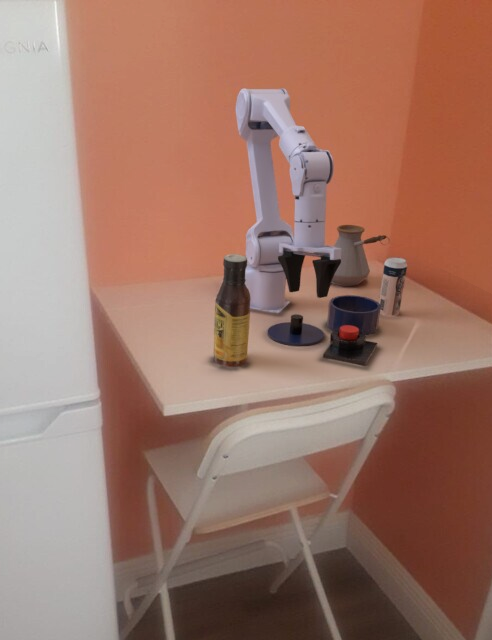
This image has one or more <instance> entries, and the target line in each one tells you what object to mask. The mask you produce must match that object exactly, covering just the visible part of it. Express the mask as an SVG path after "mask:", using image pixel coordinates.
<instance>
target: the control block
mask: <svg viewBox="0 0 492 640" xmlns="http://www.w3.org/2000/svg"><path fill="white" fill-rule="evenodd" d="M339 332H340V329H338V330H334V331H332V332H331V333H330V337H329V343H330V345H329V346H328V347H327V349H326V350H325V351H324V353H323V354H322V358H323V359H327V360H334V361H339V362H343V363H348V364H354V365H358V366H363V367H365V366H367V364H368V362H369V361H370V359H371V357H372V355H373V354H374V352H375V351H376V349H377V348H378V344H379V343H378V342H374V341H369V340H367V335H365V334H364V333H362V332H360V331H359V333H358V339H352V340H349V339H343V338H341V337H339Z"/></svg>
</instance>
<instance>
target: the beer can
mask: <svg viewBox="0 0 492 640" xmlns="http://www.w3.org/2000/svg"><path fill="white" fill-rule="evenodd" d="M407 269H408V264H407V260H406V259H404V258H403V257H399V256H398V257H397V256H390V257H387V259H386V260H385V261H384V265H383V271H382V278H381V284H380V291H379V298H378V303H379V304H380V306H381V310H380V315H383V316H387V317H394V316H398V315H400V310H401V304H402V299H403V294H404V293H403V292H404V288H405V281H406V276H407V275H406V274H407Z"/></svg>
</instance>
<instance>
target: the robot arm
mask: <svg viewBox="0 0 492 640" xmlns="http://www.w3.org/2000/svg"><path fill="white" fill-rule="evenodd" d="M235 102H236V103H235V116H236V117H235V118H236V125H237V130H238V135H239V137H240V138H242V139H243V140H244V141H245V142H246V150H247V157H248V158H247V159H248V165H249V166H248V167H249V172H250V179H251V180H250V181H251V187H252V195H253V202H254V210H255V219H256V222H255V223H254V224H253V225H252V226H251V227H250V228H249V229H248V230H247V232H246V234H245V257H246V258H247V267H246V271H245V279H246V281H245V285H246V287H247V289H248V290H249V293H250V297H251V298H250V309H252V310H253V309H254V310H259V311H264V312H271V313H277V314H280V313H281V312H282V311H283V310H284V309H285V308H286V307H287V306H288V305H289V304H290V303H291V301H289V300H285V296H286V284H287V288H288V291H289V293H295V292H299V291H300V288H301V277H302V270H303V269H302V268H303V264H304V261H305V258H306V257H313V258H319V259H312V260H311V261H312V266H313V268H314V273H315V281H316V285H315V287H316V289H315V291H316V297H317V298H318V299H322V298H326V297H327V298H328V294H329V291H330V288H331V284H332V283H331V282H332V279H333V276H334V274H335V272H336V270H337V269H338V267H339V265H340V264H341V248H336V247H333V246H332V245H327V244H325V242H326V218H327V217H326V214H327V213H326V212H327V188H328V187H327V186H328V184H329V183H330V182H331V180H332V179H333V175H334V159H333V156H332V155H331V152H330V150H328V149H322V148H319V147H318V146H317V144H316V143H315V142H314V140H313V139H312V137H311V135H310V134H309V132H308V131H307V130H306V128H305V127H304V126H303V125H297V124H296V121H295V120H294V118H293V116H292V113H291V96H290V94H289V92H288V91H287V89H286V88H283V87H281V88H259V89H257V88H254V89H253V88H251V89H250V88H245V87H244V88H242V89H241V90H240V91H239V93H238V94H237V97H236V101H235ZM277 137H279V140H278V147H279V149H280V151H281V153H282V154H283V156H284V158H285V159H286V161H287V163H288V164H289V178H290V182H291V192H292V196H294V229H293V226H292V225H290V224H289V223H288V222H287V221H285V220H283V219H282V218H281V213H280V206H279V199H278V191H277V190H278V189H277V183H276V182H277V181H276V178H275V177H276V175H275V169H274V168H275V167H274V161H273V160H274V159H273V153H272V145H271V142H272V140H274V139H275V138H277Z"/></svg>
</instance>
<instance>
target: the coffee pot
mask: <svg viewBox="0 0 492 640" xmlns="http://www.w3.org/2000/svg"><path fill="white" fill-rule="evenodd" d="M336 230H337V232H338V237H337V239H336V241H335V243H334V245H333V246H332V247H336V248H341V264H340V265H339V267H338V269H337V270H336V272H335V274H334V276H333V279H332V282H331V284H333V285H337V286H341V287H342V286H343V287H353V286H354V287H355V286H357V285H359V284H361V282H363V281H364V280H366V279H367V278H368V276H369V275H370V272H371V270H370V266H369V263H368V260H367V256H366V251H365V247H364V245H368V244H374V243H377V242H380V244H381V245H382V246H387V245H388V243H391V242H390V241H391V240H390V237H388V236H387V235H385V234H383V235H378V236H372V237H369V238H367V239H365V240H362V239H361V238H362V236H363V233H364V232H365V231H366V230H365V228H364V227H362V226H359V225H355V224H341V225H338V226H337V227H336ZM385 239H387V240H388V243H386V244H384V243H383V242H382V241H383V240H385Z"/></svg>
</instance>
